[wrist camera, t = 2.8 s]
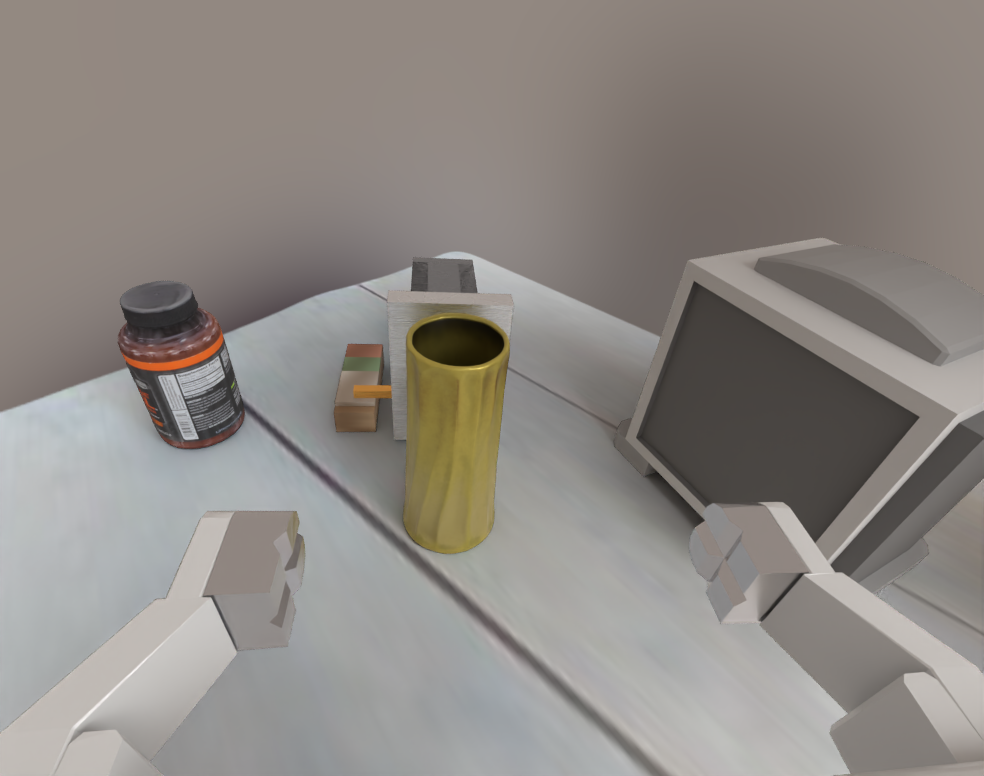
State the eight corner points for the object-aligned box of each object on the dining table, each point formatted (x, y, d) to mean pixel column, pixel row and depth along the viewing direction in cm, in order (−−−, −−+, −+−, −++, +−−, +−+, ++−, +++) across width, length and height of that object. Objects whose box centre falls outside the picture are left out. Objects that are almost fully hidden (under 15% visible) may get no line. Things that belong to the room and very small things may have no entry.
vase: (405, 481, 36) (400, 305, 27) (490, 480, 37) (512, 309, 28) (400, 556, 31) (391, 373, 22) (497, 554, 32) (526, 376, 23)
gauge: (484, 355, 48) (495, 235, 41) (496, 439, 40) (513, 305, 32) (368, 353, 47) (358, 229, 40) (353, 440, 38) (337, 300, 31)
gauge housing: (468, 313, 55) (472, 259, 51) (475, 367, 47) (479, 309, 43) (413, 312, 54) (413, 257, 50) (411, 366, 47) (409, 306, 43)
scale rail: (383, 364, 46) (382, 342, 45) (375, 431, 39) (373, 408, 38) (350, 364, 46) (348, 342, 45) (336, 431, 39) (333, 408, 38)
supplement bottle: (151, 418, 39) (90, 285, 32) (231, 391, 42) (193, 265, 35) (172, 465, 35) (109, 328, 28) (258, 432, 38) (221, 301, 31)
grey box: (922, 561, 34) (1169, 336, 23) (801, 645, 29) (1046, 405, 18) (718, 400, 47) (813, 202, 35) (606, 438, 41) (677, 219, 30)
